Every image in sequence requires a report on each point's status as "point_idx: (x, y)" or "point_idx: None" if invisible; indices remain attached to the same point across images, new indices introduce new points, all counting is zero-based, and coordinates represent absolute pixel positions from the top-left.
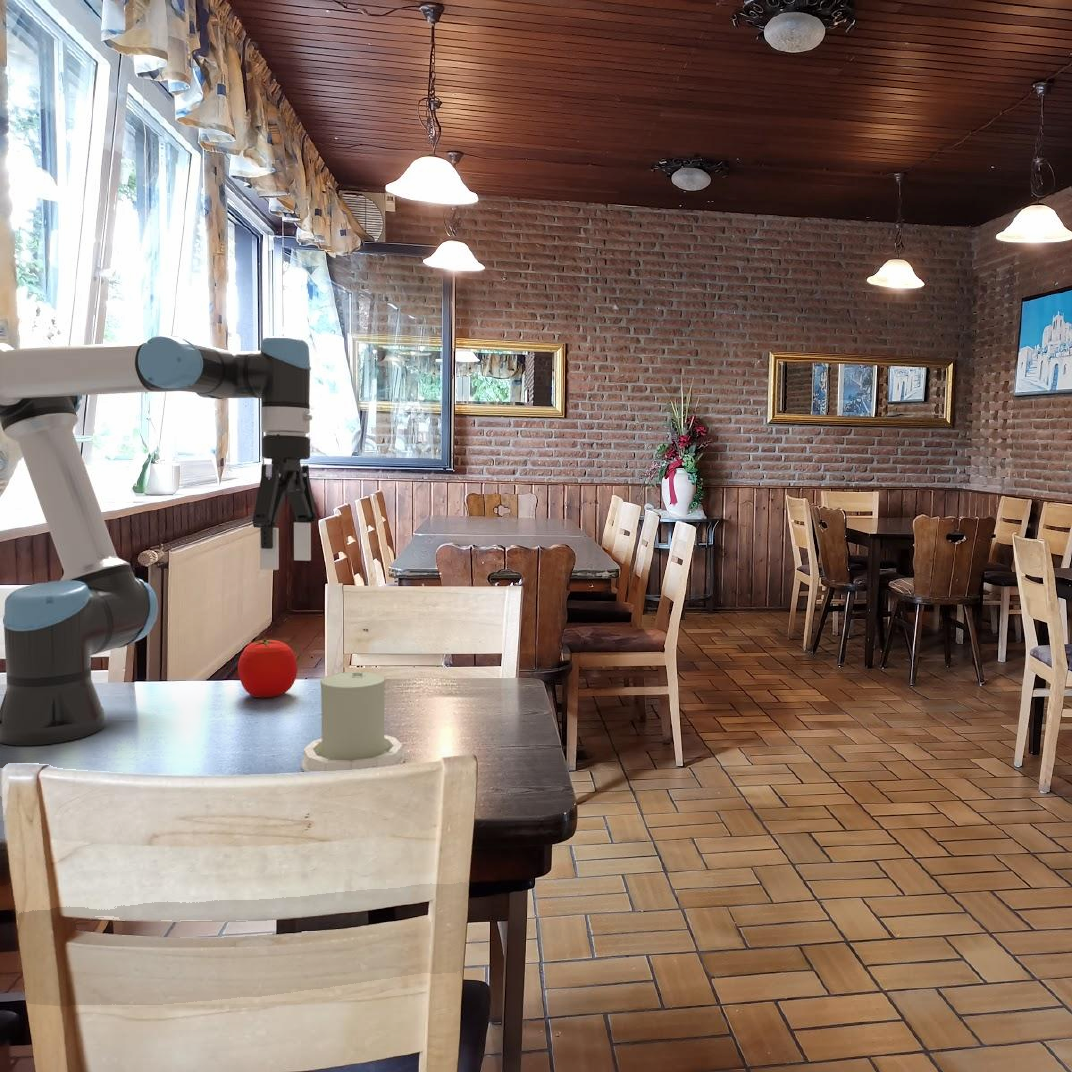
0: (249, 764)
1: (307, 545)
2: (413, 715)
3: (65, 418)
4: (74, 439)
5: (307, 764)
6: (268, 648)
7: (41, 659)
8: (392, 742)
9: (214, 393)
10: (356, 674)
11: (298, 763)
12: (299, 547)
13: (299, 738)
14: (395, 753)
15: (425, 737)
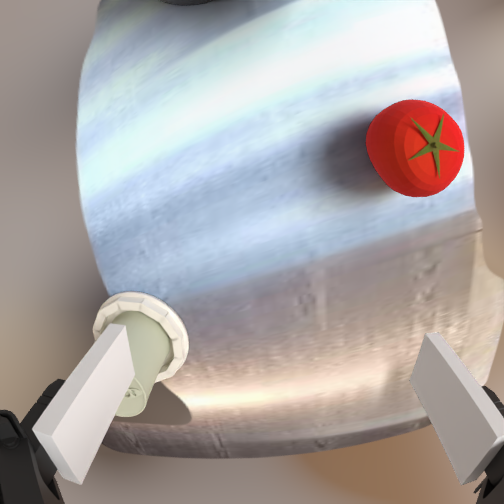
0: (113, 237)
1: (430, 412)
2: (311, 360)
3: None
4: None
5: (105, 305)
6: (406, 160)
7: None
8: (158, 375)
9: None
10: (133, 390)
11: (127, 286)
12: (439, 381)
13: (204, 260)
14: None
15: (231, 383)
